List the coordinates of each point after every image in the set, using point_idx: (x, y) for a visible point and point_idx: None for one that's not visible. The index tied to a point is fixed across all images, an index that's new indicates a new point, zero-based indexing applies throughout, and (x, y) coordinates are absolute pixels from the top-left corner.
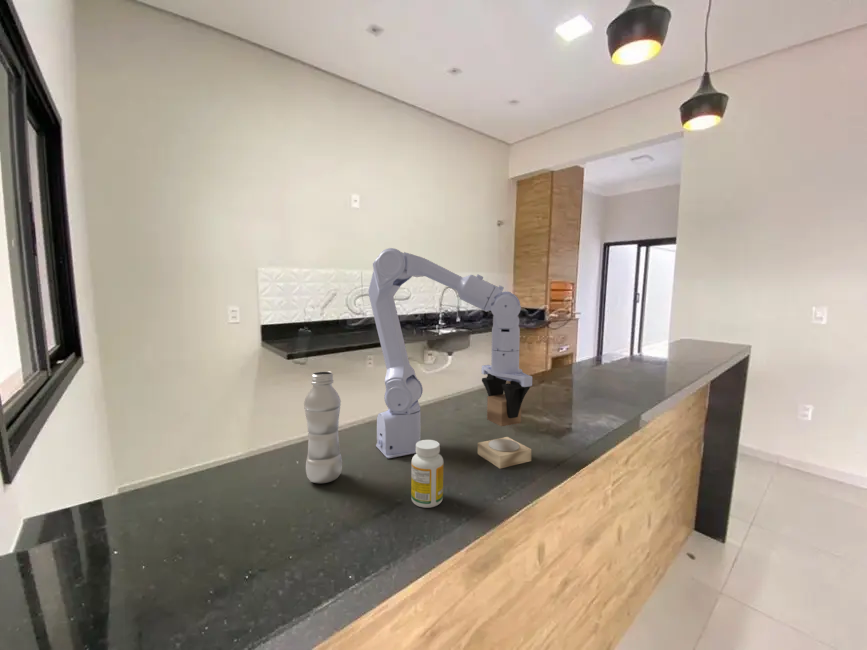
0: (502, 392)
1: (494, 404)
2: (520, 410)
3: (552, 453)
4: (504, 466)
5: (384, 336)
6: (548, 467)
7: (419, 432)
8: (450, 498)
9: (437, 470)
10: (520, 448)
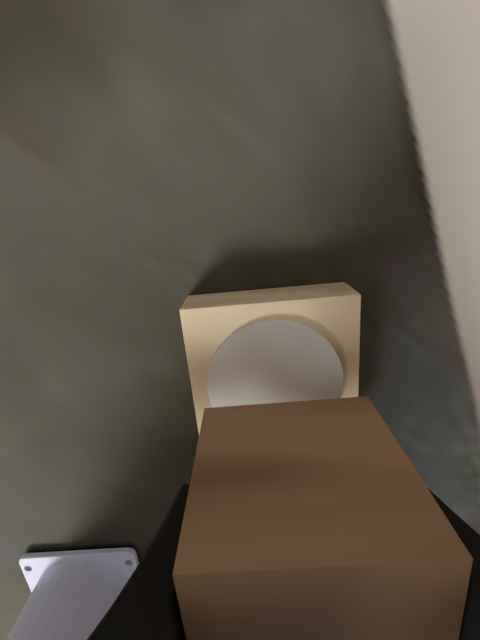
0: (167, 637)
1: None
2: (408, 464)
3: (323, 131)
4: None
5: None
6: (423, 253)
7: (94, 628)
8: None
9: None
10: (331, 335)
